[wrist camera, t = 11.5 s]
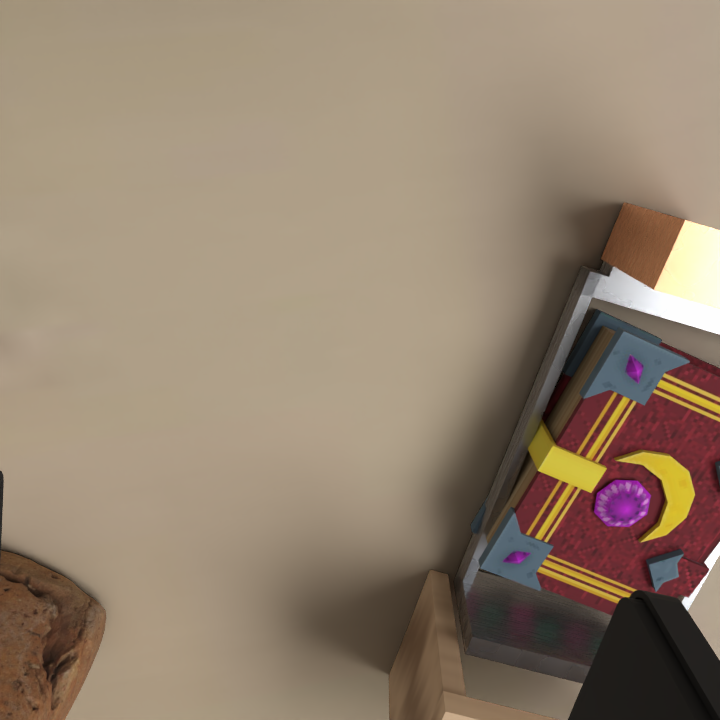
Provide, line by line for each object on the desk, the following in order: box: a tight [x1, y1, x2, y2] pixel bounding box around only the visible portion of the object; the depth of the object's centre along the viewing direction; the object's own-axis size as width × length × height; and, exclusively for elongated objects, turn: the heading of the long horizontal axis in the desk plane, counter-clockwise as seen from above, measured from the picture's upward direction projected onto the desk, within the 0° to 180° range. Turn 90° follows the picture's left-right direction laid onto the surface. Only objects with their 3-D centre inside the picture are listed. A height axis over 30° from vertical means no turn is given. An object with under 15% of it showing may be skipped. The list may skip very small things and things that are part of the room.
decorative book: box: [471, 309, 720, 615], centre depth 36 cm, size 11×16×5 cm
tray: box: [454, 202, 720, 683], centre depth 34 cm, size 24×14×7 cm, turn 164°
